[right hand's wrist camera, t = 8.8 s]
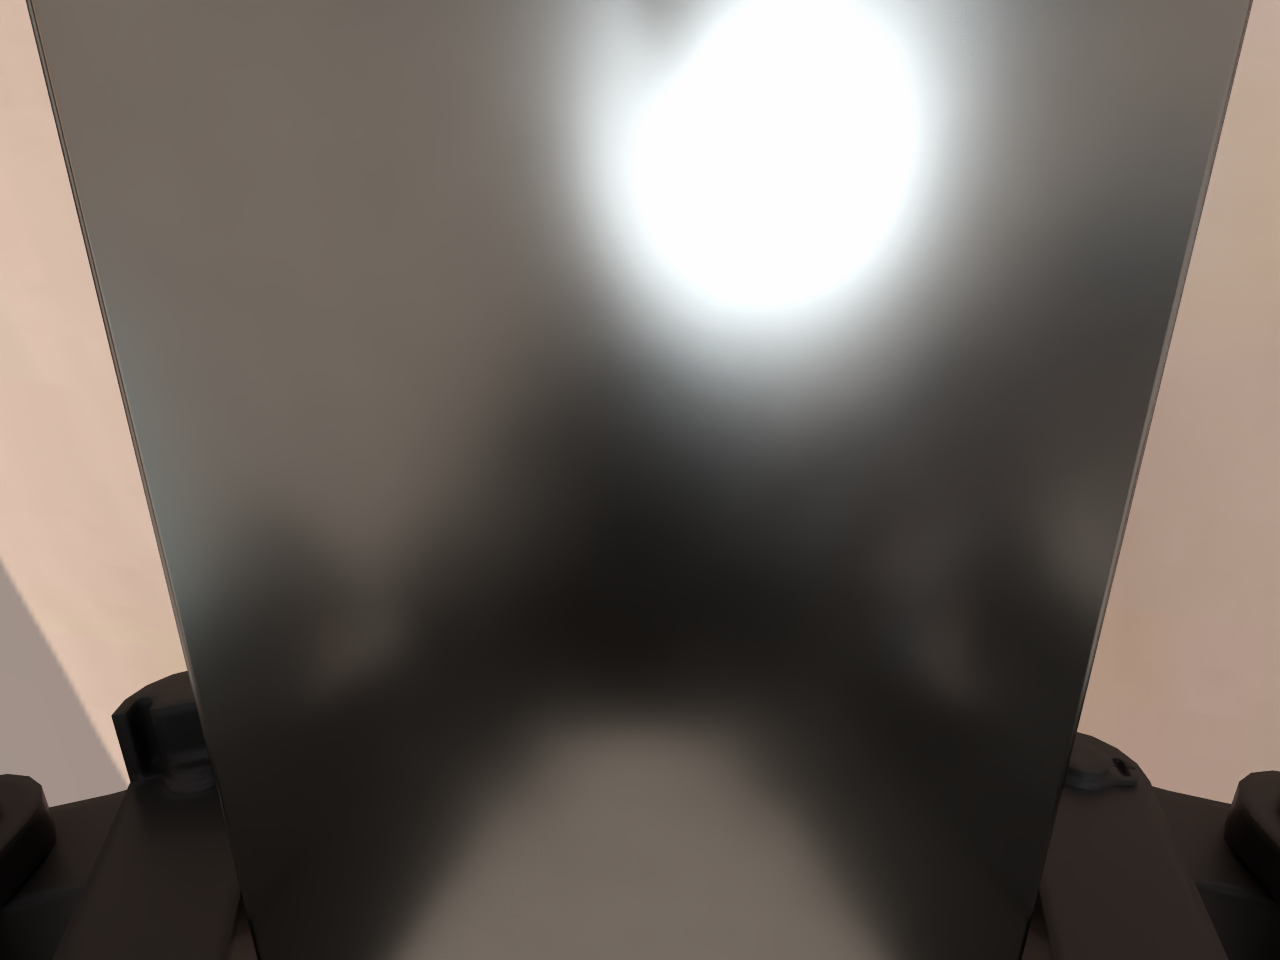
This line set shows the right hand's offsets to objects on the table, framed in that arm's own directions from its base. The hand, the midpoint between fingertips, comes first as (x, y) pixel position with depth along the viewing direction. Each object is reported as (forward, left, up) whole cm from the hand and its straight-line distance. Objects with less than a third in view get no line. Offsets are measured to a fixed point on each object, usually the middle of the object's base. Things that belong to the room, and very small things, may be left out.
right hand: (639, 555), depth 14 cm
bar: (+8, +2, 0) cm, 8 cm away
